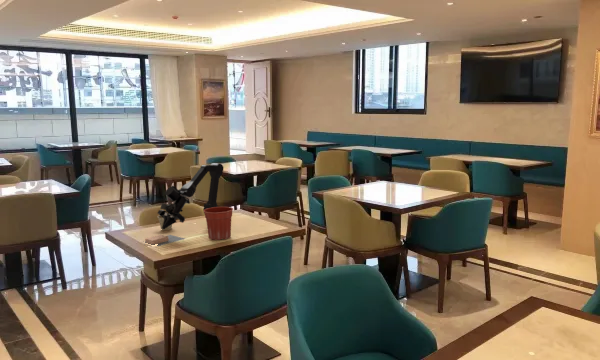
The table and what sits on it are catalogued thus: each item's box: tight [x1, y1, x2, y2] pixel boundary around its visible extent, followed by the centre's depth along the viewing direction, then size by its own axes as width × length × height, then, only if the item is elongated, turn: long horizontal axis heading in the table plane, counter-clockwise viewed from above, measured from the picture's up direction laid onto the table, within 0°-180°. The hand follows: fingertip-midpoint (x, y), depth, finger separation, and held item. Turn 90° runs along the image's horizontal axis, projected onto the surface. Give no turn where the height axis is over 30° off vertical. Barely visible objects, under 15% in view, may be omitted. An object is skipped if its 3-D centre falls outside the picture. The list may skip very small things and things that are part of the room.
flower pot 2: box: [203, 206, 234, 241], centre depth 276 cm, size 16×16×16 cm
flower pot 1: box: [157, 214, 173, 231], centre depth 298 cm, size 9×9×9 cm
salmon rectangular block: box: [144, 234, 169, 245], centre depth 269 cm, size 3×7×10 cm
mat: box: [157, 234, 186, 247], centre depth 272 cm, size 20×15×1 cm
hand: (162, 228), depth 272 cm, fingers closed
